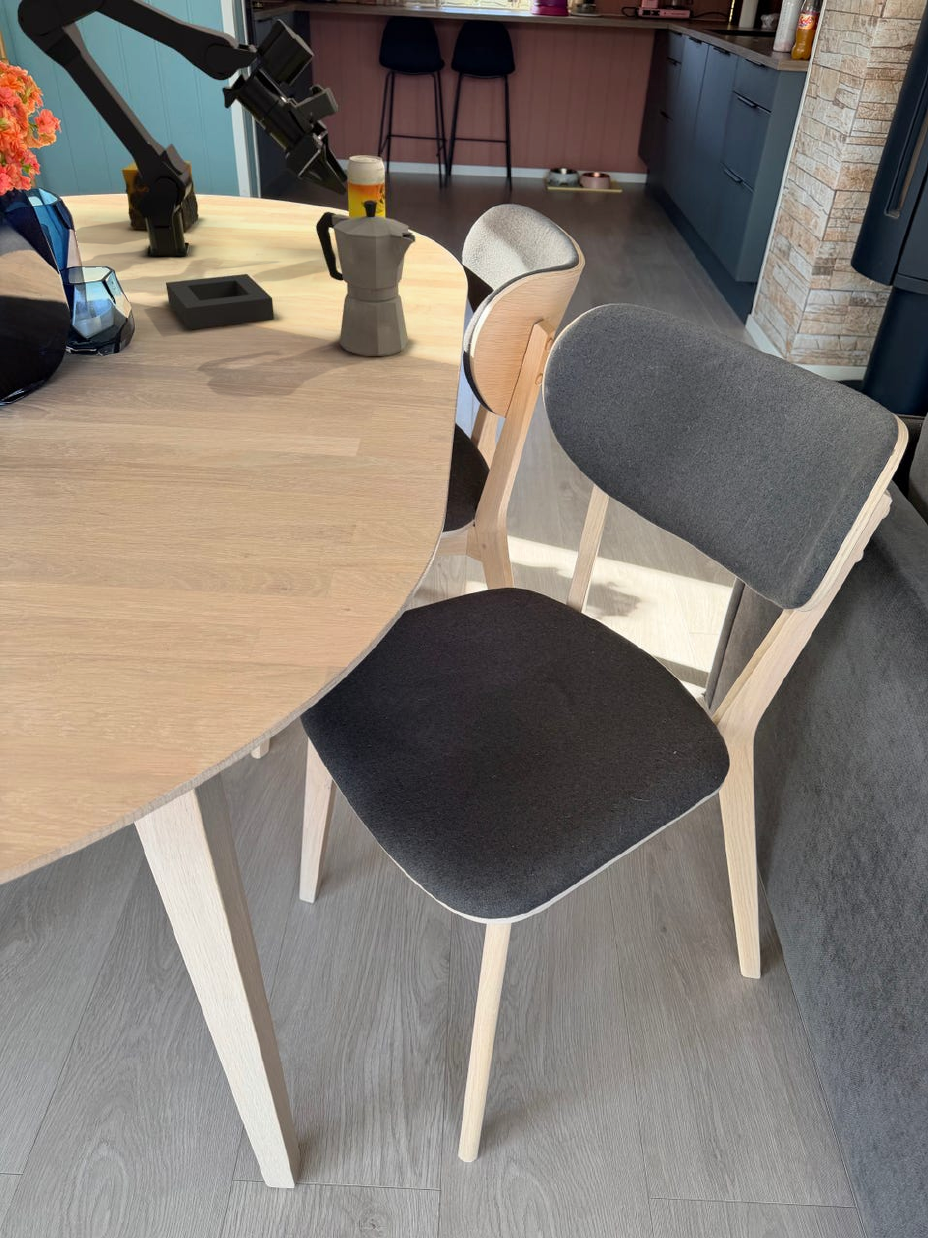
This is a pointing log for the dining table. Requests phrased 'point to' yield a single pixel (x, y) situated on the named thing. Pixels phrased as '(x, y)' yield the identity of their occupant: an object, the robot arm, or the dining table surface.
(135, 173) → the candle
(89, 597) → the dining table surface
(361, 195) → the beer can
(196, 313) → the socket pad
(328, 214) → the coffeepot
